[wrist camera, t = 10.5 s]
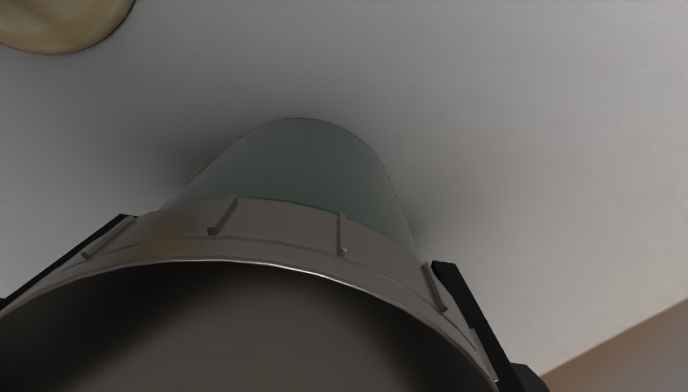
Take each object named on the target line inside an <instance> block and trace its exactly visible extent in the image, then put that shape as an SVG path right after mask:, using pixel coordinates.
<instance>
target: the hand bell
mask: <svg viewBox="0 0 688 392" xmlns="http://www.w3.org/2000/svg"><path fill="white" fill-rule="evenodd" d="M133 1H134V0H0V44H3V45H5V46H8V47H10V48H14V49H17V50H21V51H26V52H31V53H36V54H66V53H71V52H75V51H78V50H82V49H84V48H87V47H89V46H92V45H93V44H95V43H97V42H99V41H101V40H103V39H104V38H105V37H106V36H108V35H109V34H110V33H111V32H112V31H113V30H114V29H115V28H116V27H117V26H118V25H119V24H120V22H121V21H122V20H123V19H124V18H125V16H126V14H127V13H128V11H129V9H130V7H131V5H132V3H133Z"/></svg>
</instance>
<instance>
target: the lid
mask: <svg viewBox="0 0 688 392" xmlns="http://www.w3.org/2000/svg"><path fill="white" fill-rule="evenodd" d="M499 384H500V382H499V379H498V377H497V375H496V373H495V371H494V369H493V367H492V365H491V363H490V361H489V359H488V357H487V355H486V353H485V351H484V349H483V347H482V345H481V343H480V340H479V338H478V336H477V334H476V332H475V330H474V329H469V327H468V325H467V323H466V320H465V318H464V317H463V315H462V313H461V311H460V310H459V308H458V306H457V305H456V303H455V301H454V299H453V298H452V296H451V295H450V294H449V292H448V291H447V290H446V289H445V288H444V286H443V285H442V284H441V283H440V281H439V280H438V279H437V278H436V276H435V275H434V274H433V271H432V269H431V267H430V265H429V264H428V263H427V262H425V263H424V264H422V263H421V262H419V261H418V260H417V259H416V258H415V257H414V256H413V255H412V254H410V253H409V252H407V251H406V250H404V249H403V248H401V247H400V246H398V245H397V244H396V243H394V242H393V241H391V240H390V239H388V238H387V237H385V236H383V235H381V234H379V233H377V232H375V231H373V230H371V229H369V228H367V227H365V226H363V225H361V224H359V223H357V222H355V221H352V220H349V219H347V218H346V214H344V213H341V212H340V213H339V216H338V215H335V214H333V213H330V212H327V211H324V210H320V209H316V208H312V207H307V206H303V205H299V204H294V203H290V202H281V201H271V200H262V199H238V197H237V195H230V197H229V198H228V199H214V200H207V201H199V202H192V203H185V204H180V205H176V206H172V207H169V208H165V209H161V210H157V211H154V212H150V213H147V214H145V215H143V216H140V217H138V218H136V219H135V218H134V217H133V215H130V216H128V217H126V218H125V219H124V220H122V221H121V222H120V223H118V224H117V225H116V226H115V227H113V228H112V229H111V230H109V231H108V232H107V233H106V234H104V235H103V236H101V237H99V238H98V239H96V240H94V241H93V242H92V243H90V244H89V245H88V246H86V247H85V248H84V249H82V250H81V251H80V252H79V253H77V254H76V255H75V256H73V257H72V258H71V259H70V260H68V261H67V262H66V263H64V264H63V265H62V266H61V267H59V268H58V267H57V268H56V269H54V270H53V271H52V272H50V273H49V274H48V275H47V276H45V277H44V278H43V279H41V280H40V281H39V282H37V283H36V284H35V285H34V286H32V287H31V288H30V289H28V290H27V291H26V292H24V293H23V294H22V295H21V296H19V297H18V298H17V299H15V300H14V301H13V302H11V303H10V304H9V305H8V306H6V307H5V308H4V309H2V310H1V311H0V392H499V390H498V388H497V386H496V385H499Z"/></svg>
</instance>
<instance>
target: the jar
mask: <svg viewBox="0 0 688 392" xmlns="http://www.w3.org/2000/svg"><path fill="white" fill-rule="evenodd" d="M230 195H237V197H238V199H262V200H271V201H281V202H290V203H294V204H299V205H303V206H307V207H312V208H316V209H320V210H324V211H327V212H330V213H333V214H335V215H338V216H339V213H340V212H341V213H344V214H346V218H347V219H349V220H352V221H355V222H357V223H359V224H361V225H363V226H365V227H367V228H369V229H371V230H373V231H375V232H377V233H379V234H381V235H383V236H385V237H387V238H388V239H390V240H391V241H393V242H394V243H396V244H397V245H398V246H400V247H401V248H403V249H404V250H406V251H407V252H409V253H410V254H412V255H413V256H414V257H415V258H416V259H417V260H418V261H419V262H421V263H422V264H424V261H423V259H422V257H421V254H420V252H419V249H418V247H417V244H416V242H415V239H414V237H413V234H412V232H411V229H410V227H409V225H408V222H407V220H406V217H405V215H404V212H403V210H402V207H401V205H400V202H399V200H398V198H397V195H396V193H395V190H394V188H393V185H392V183H391V180H390V178H389V176H388V173H387V171H386V169H385V167H384V165H383V164H382V162H381V161H380V159H379V158H378V156H377V155H376V154H375V153H374V151H373V150H372V149H371V148H370V147H369V146H368V145H367V144H366V143H364V142H363V141H362V140H361V139H360V138H358V137H357V136H355V135H354V134H353V133H351V132H349V131H347V130H345V129H343V128H341V127H339V126H337V125H334V124H331V123H329V122H325V121H320V120H316V119H308V118H287V119H281V120H275V121H272V122H269V123H266V124H262V125H260V126H258V127H256V128H254V129H252V130H250V131H248V132H247V133H245V134H244V135H242V136H241V137H240V138H238V139H237V140H236V141H235V142H234V143H233V144H232V145H230V146H229V147H228V148H227V149H226V150H225V151H224V152H222V153H221V154H220V155H219V156H218V157H217V158H216V159H215V160H213V161H212V162H211V163H210V164H209V165H208V166H207V167H205V168H204V169H203V170H202V171H201V172H200V173H199V174H197V175H196V176H195V177H194V178H193V179H192V180H191V181H190V182H188V183H187V184H186V185H185V186H184V187H183V188H182V189H180V190H179V191H178V192H177V193H176V194H175V195H174V196H172V197H171V198H170V199H169V200H168V201H167V202H166V203H164V204H163V205H162V206H161V207H160V208H159V209H158V210H161V209H165V208H169V207H172V206H176V205H180V204H185V203H192V202H199V201H207V200H214V199H228V198H229V197H230Z"/></svg>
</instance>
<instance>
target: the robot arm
mask: <svg viewBox="0 0 688 392" xmlns="http://www.w3.org/2000/svg"><path fill="white" fill-rule="evenodd" d="M128 216H130V215H125V214H119V215H118V216H117V217H115V218H114V219H112V220H111V221H110V222H108V223H107V224H106V225H104V226H103V227H102V228H100V229H99V230H98V231H96V232H95V233H93V234H92V235H91V236H89V237H88V238H87V239H85V240H84V241H83V242H81V243H80V244H79V245H77V246H76V247H75V248H73V249H72V250H70V251H69V252H68V253H66V254H65V255H64V256H62V257H61V258H60V259H58V260H57V261H56V262H54V263H53V264H51V265H50V266H49V267H47V268H46V269H45V270H43V271H42V272H41V273H39V274H38V275H37V276H35V277H34V278H32V279H31V280H30V281H28V282H27V283H26V284H24V285H23V286H22V287H20V288H19V289H18V290H16V291H15V292H13V293H12V294H11V295H9V296H8V297H7V298H5V299H4V298H0V311H1V310H2V309H4V308H5V307H6V306H8V305H9V304H10V303H11V302H13V301H14V300H15V299H17V298H18V297H19V296H21V295H22V294H23V293H24V292H26V291H27V290H28V289H30V288H31V287H32V286H34V285H35V284H36V283H37V282H39V281H40V280H41V279H43V278H44V277H45V276H47V275H48V274H49V273H50V272H52V271H53V270H54V269H56V268H57V267H58V268H59V267H61V266H62V265H63V264H64V263H66V262H67V261H68V260H70V259H71V258H72V257H73V256H75V255H76V254H77V253H79V252H80V251H81V250H82V249H84V248H85V247H86V246H88V245H89V244H90V243H92V242H93V241H94V240H96V239H98V238H99V237H101V236H103V235H104V234H106V233H107V232H108V231H109V230H111V229H112V228H113V227H115V226H116V225H117V224H118V223H120V222H121V221H122V220H124V219H125V218H126V217H128ZM133 217H134V218H135V219H136V218H138V217H139V216H133ZM431 269H432V271H433V274H434V275H435V276H436V278H437V279H438V280H439V281H440V283H441V284H442V285H443V286H444V288H445V289H446V290H447V291H448V292H449V294H450V295H451V296H452V298H453V299H454V301H455V303H456V305H457V306H458V308H459V310H460V311H461V313H462V315H463V317H464V318H465V320H466V323H467V325H468V327H469V329H474V330H475V332H476V334H477V336H478V338H479V340H480V343H481V345H482V347H483V349H484V351H485V353H486V355H487V357H488V359H489V361H490V363H491V365H492V367H493V369H494V371H495V373H496V375H497V377H498V379H499V382H500V384H499V385H496V386H497V388H498V390H499V392H550V391H549V389H548V387H547V386H546V384H545V383H544V382H543V381H542V380H541V379H540V378H539V377H538V376H537V375H536V374H535V373H534V372H533V371H532V370H531V369H530V368H529V367H528V366H527V365H525V364H517V363H510V362H509V360H508V358H507V356H506V354H505V353H504V351H503V349H502V347H501V345H500V344H499V342H498V340H497V338H496V336H495V335H494V333H493V331H492V329H491V327H490V326H489V324H488V322H487V320H486V318H485V317H484V315H483V313H482V311H481V309H480V308H479V306H478V304H477V302H476V300H475V299H474V297H473V295H472V293H471V291H470V290H469V288H468V286H467V284H466V282H465V281H464V279H463V277H462V275H461V273H460V272H459V270H458V268H457V266H456V264H453V263H447V262H440V261H432V264H431Z"/></svg>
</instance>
